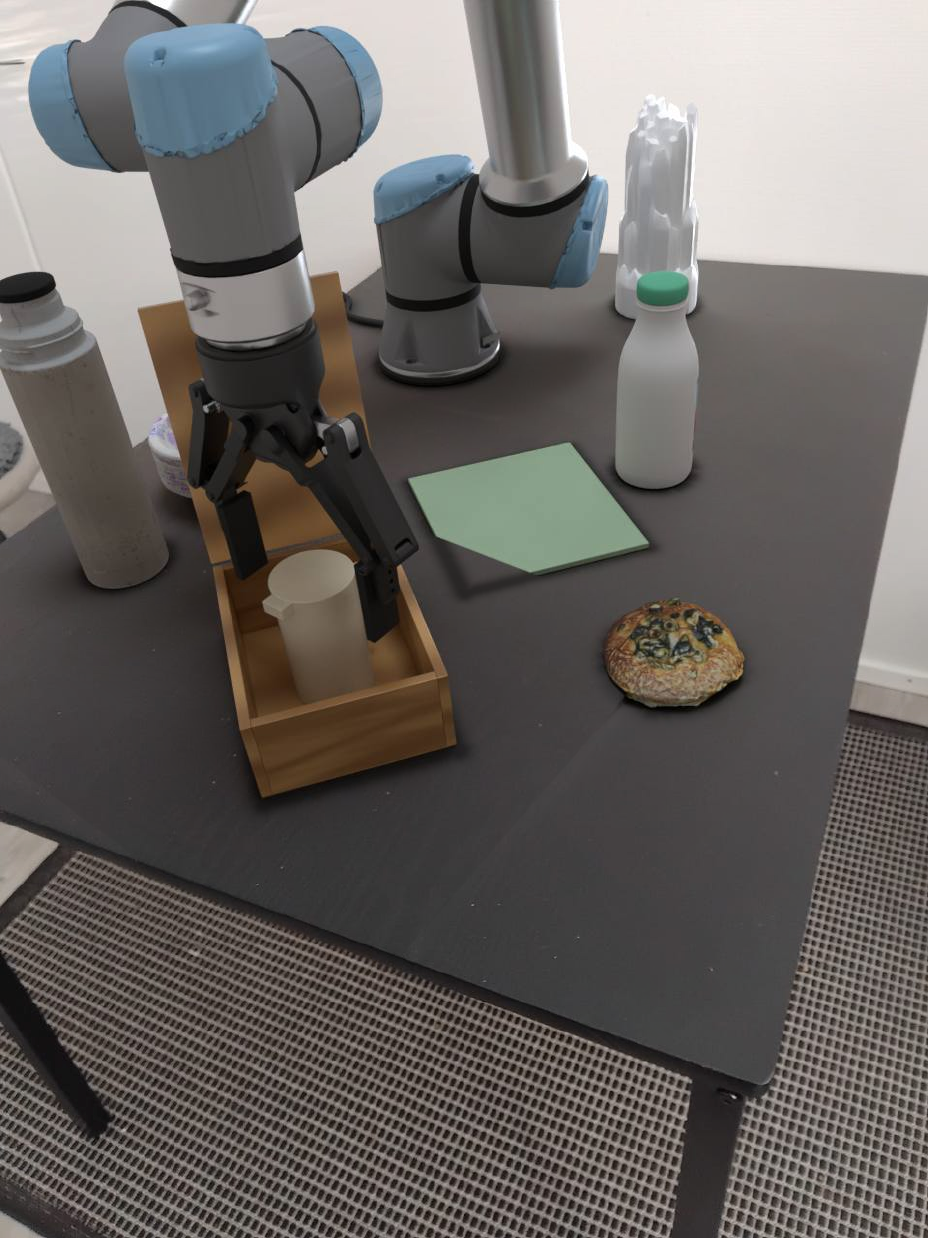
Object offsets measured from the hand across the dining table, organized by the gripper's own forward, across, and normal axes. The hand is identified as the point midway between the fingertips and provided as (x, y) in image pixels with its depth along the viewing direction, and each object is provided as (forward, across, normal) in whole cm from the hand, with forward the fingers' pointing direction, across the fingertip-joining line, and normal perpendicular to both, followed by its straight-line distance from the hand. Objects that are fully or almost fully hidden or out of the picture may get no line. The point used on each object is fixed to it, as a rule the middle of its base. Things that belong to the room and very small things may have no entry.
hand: (315, 599), depth 73 cm
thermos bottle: (+10, -30, +2) cm, 31 cm away
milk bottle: (+10, +6, +42) cm, 43 cm away
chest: (+10, 0, 0) cm, 10 cm away
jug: (+9, 0, 0) cm, 9 cm away
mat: (+9, -2, +29) cm, 30 cm away
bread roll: (+10, +21, +17) cm, 29 cm away
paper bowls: (+10, -31, +18) cm, 37 cm away
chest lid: (-9, -9, +7) cm, 14 cm away
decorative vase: (+9, -15, +79) cm, 81 cm away
